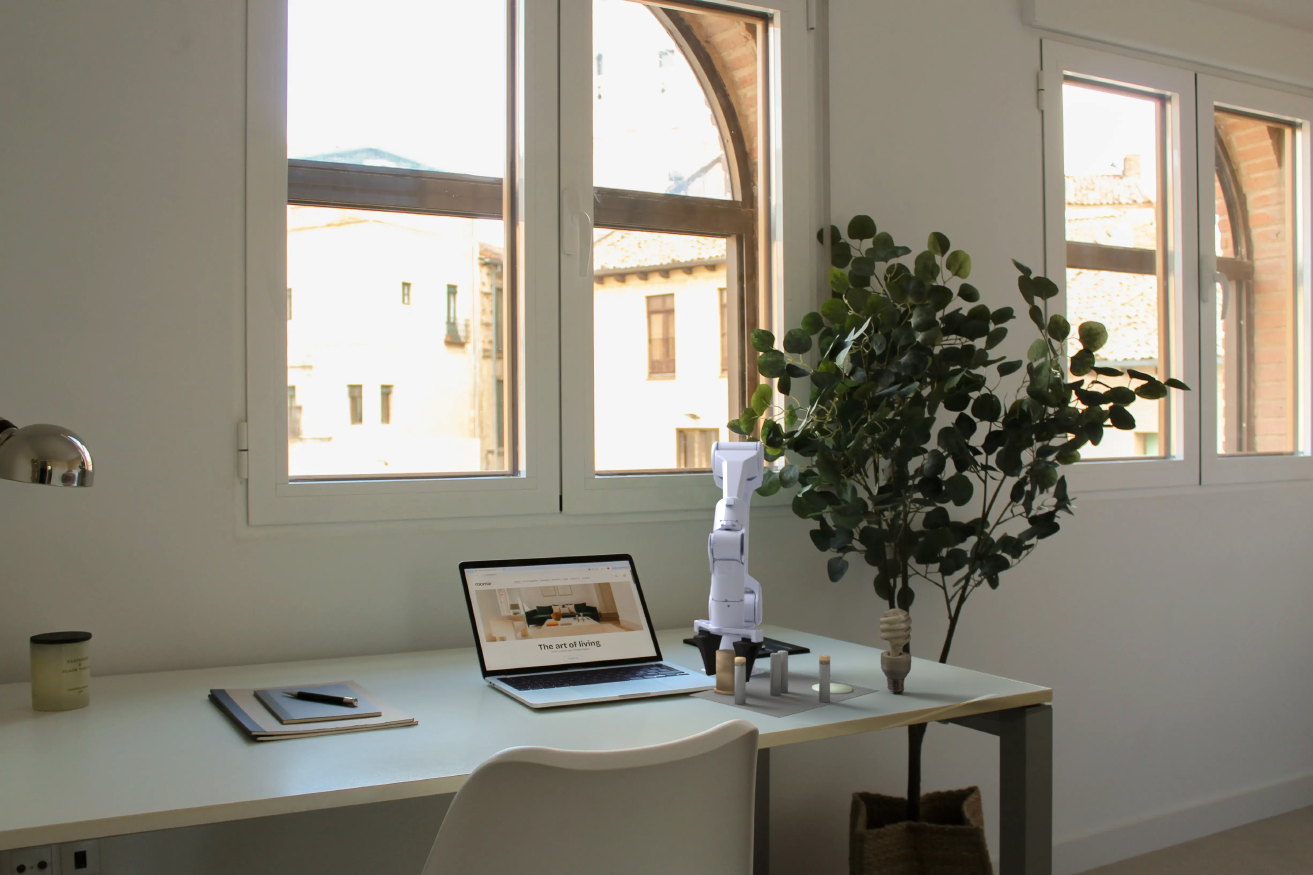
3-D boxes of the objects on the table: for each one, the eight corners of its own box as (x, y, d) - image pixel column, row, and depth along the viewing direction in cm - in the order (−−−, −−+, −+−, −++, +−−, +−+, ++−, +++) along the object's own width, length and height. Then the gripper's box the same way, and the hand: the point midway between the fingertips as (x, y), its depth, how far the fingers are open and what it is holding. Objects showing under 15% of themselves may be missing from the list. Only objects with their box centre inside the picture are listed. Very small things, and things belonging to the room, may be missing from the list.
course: (688, 697, 176) (688, 650, 176) (789, 674, 194) (790, 632, 195) (779, 719, 161) (779, 669, 161) (879, 692, 180) (879, 647, 180)
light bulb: (912, 699, 175) (912, 611, 175) (879, 698, 176) (879, 610, 176) (911, 692, 180) (911, 606, 180) (879, 690, 181) (879, 605, 181)
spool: (708, 691, 178) (708, 651, 178) (726, 687, 181) (727, 647, 182) (728, 696, 175) (728, 654, 175) (746, 692, 178) (746, 651, 178)
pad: (803, 688, 181) (803, 687, 181) (828, 682, 185) (828, 681, 185) (836, 696, 176) (836, 694, 176) (860, 689, 180) (860, 687, 180)
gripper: (681, 597, 181) (681, 674, 181) (743, 606, 170) (743, 688, 170) (709, 593, 186) (709, 669, 186) (771, 602, 175) (771, 682, 175)
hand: (727, 678), depth 178 cm, fingers open, 7 cm apart
